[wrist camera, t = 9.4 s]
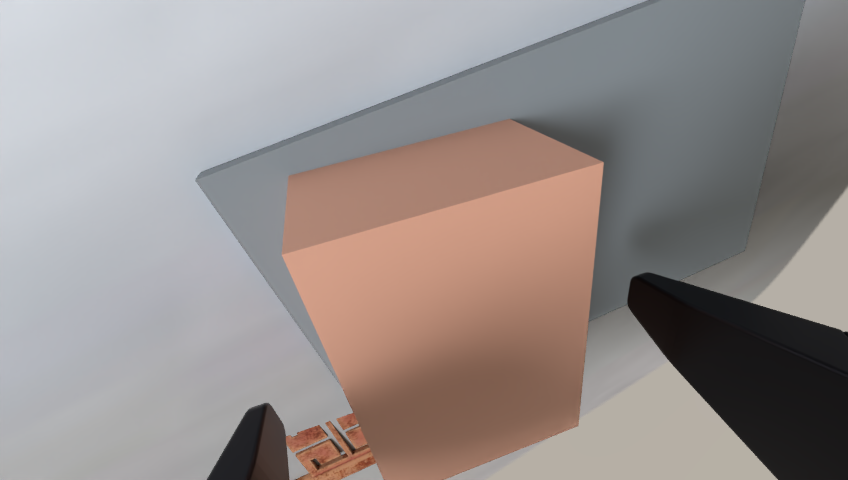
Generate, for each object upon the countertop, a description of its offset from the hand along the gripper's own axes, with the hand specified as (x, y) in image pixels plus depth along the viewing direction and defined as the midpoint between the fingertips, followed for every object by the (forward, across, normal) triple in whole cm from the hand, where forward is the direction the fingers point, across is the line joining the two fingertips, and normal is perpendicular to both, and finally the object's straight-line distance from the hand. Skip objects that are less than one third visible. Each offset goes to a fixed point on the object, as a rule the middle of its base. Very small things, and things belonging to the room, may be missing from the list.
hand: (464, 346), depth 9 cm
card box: (+3, 0, 0) cm, 3 cm away
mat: (+3, -4, -1) cm, 5 cm away
